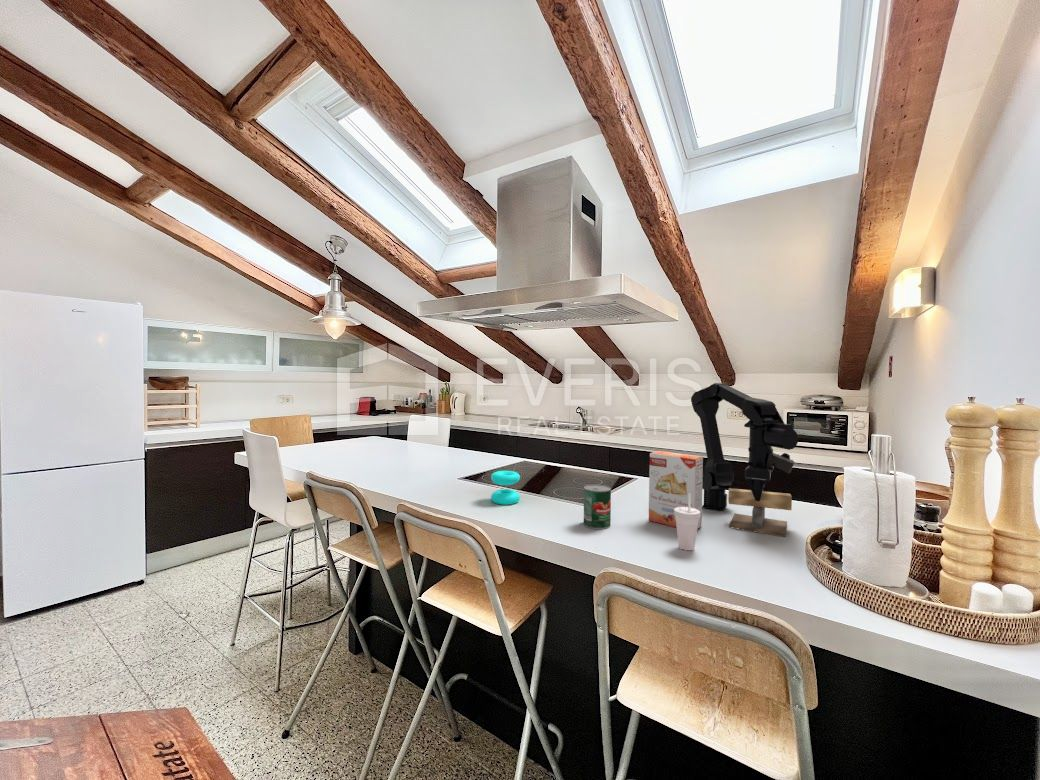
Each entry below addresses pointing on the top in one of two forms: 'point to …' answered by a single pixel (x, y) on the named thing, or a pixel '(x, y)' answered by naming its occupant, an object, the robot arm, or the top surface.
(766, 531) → the stand
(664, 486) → the cracker box
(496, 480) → the donuts
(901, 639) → the top surface
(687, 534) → the smoothie
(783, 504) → the oak bar
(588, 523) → the canned tomato
